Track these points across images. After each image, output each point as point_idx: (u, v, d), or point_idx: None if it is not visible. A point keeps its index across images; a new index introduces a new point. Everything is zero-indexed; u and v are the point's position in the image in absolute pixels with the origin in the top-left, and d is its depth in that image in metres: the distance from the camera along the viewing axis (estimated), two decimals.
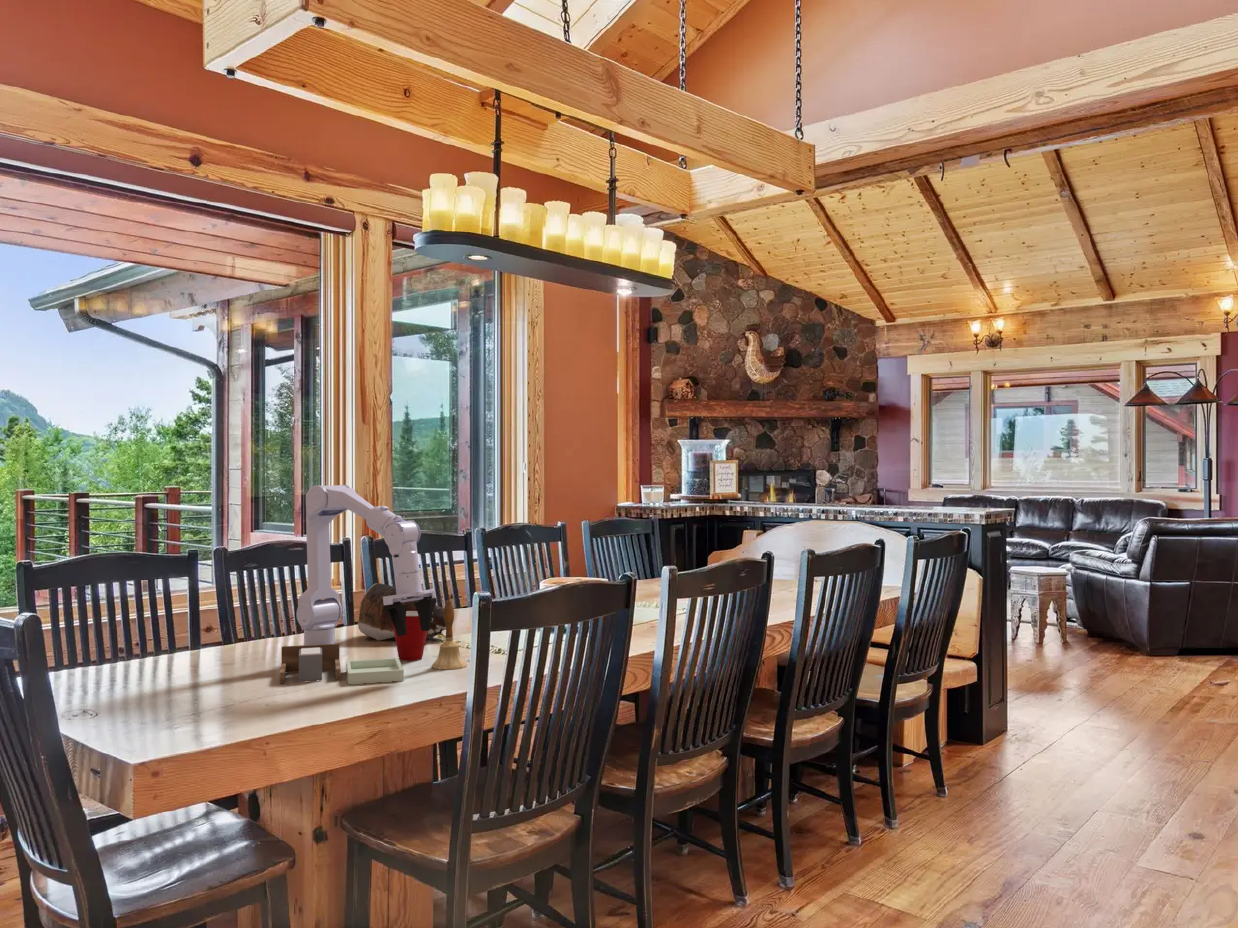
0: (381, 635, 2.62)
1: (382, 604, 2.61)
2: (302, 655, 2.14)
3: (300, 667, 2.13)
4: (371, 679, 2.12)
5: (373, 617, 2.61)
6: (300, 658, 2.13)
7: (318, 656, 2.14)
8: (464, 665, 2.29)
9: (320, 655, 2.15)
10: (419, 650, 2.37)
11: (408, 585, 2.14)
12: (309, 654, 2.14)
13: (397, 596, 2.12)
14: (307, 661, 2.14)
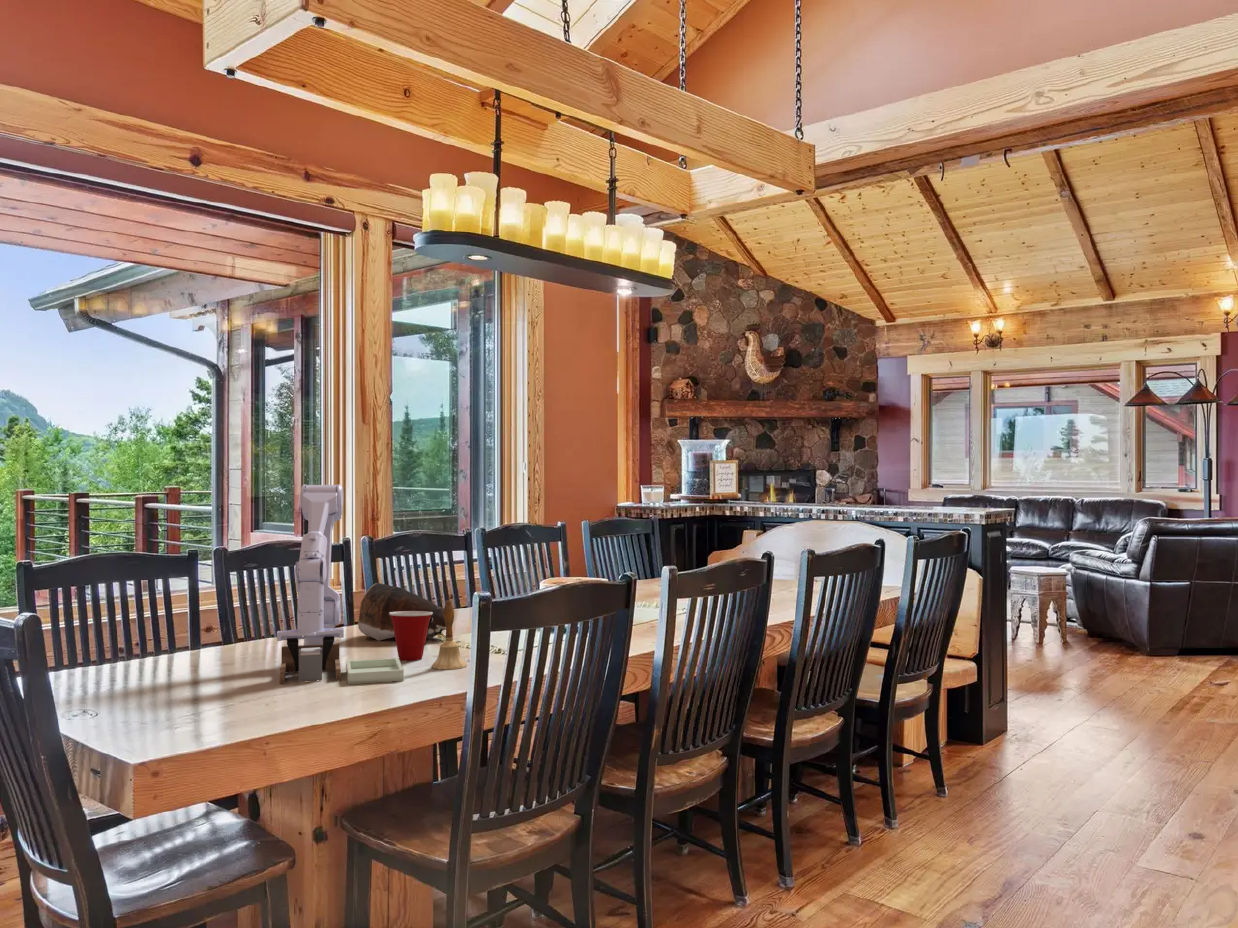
0: (381, 635, 2.62)
1: (382, 604, 2.61)
2: (302, 655, 2.14)
3: (300, 667, 2.13)
4: (371, 679, 2.12)
5: (373, 617, 2.61)
6: (300, 658, 2.13)
7: (318, 656, 2.14)
8: (464, 665, 2.29)
9: (320, 655, 2.15)
10: (419, 650, 2.37)
11: (301, 624, 2.15)
12: (309, 654, 2.14)
13: (286, 634, 2.15)
14: (307, 661, 2.14)
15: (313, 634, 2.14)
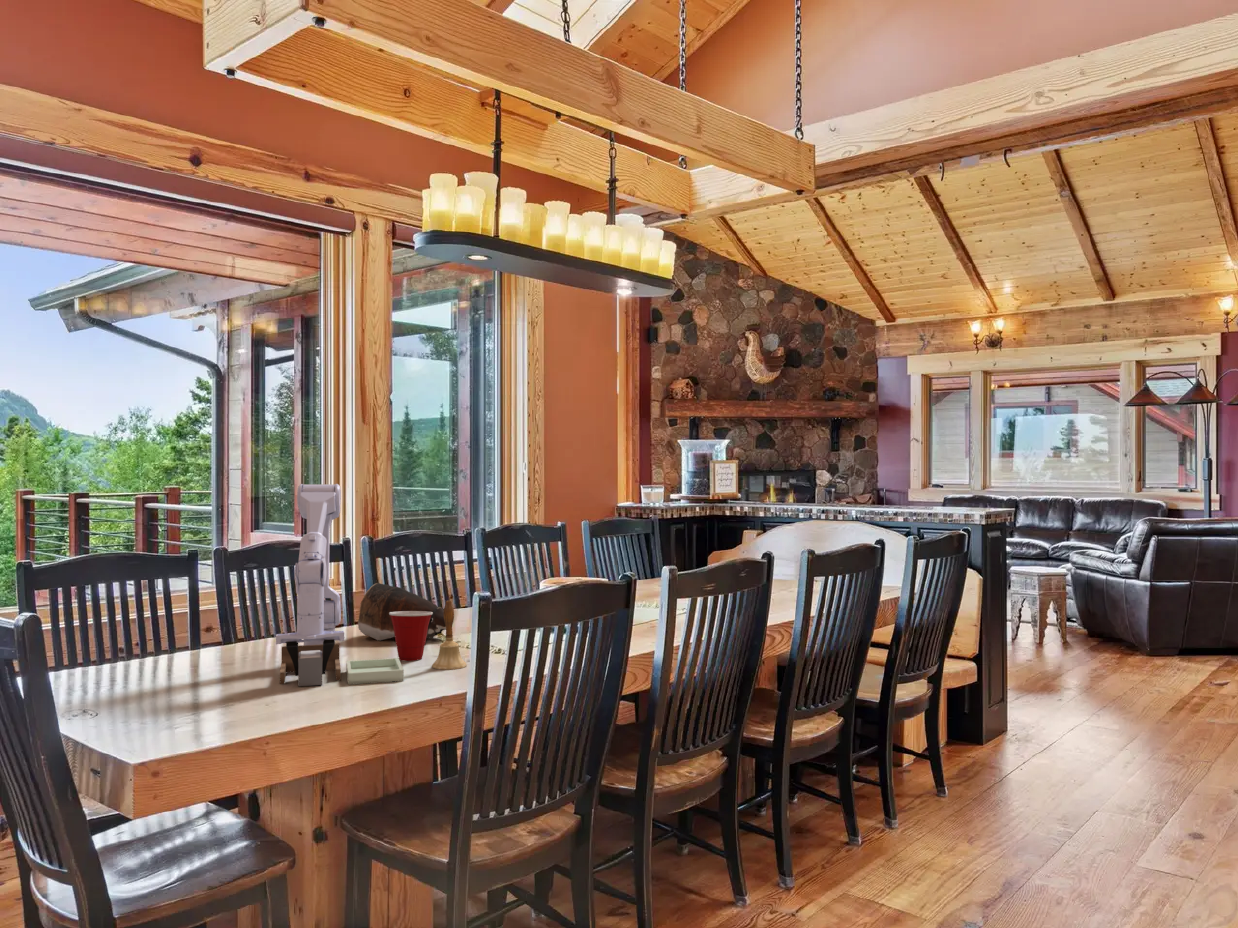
0: (381, 635, 2.62)
1: (382, 604, 2.61)
2: (302, 658, 2.09)
3: (300, 670, 2.08)
4: (371, 679, 2.12)
5: (373, 617, 2.61)
6: (300, 661, 2.08)
7: (318, 659, 2.09)
8: (464, 665, 2.29)
9: (320, 658, 2.10)
10: (419, 650, 2.37)
11: (301, 627, 2.10)
12: (309, 657, 2.09)
13: (286, 637, 2.10)
14: (307, 664, 2.09)
15: (313, 637, 2.09)
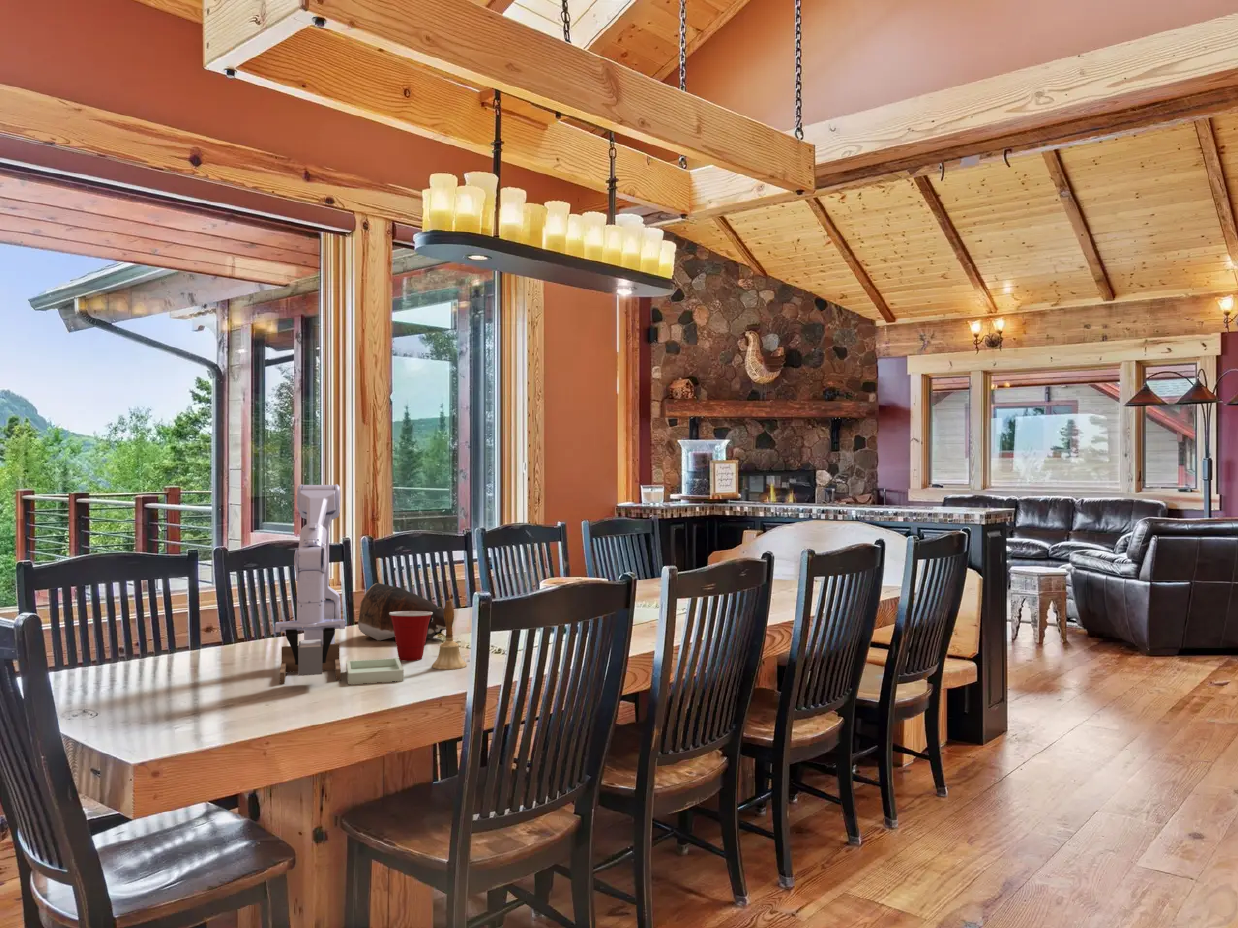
0: (381, 635, 2.62)
1: (382, 604, 2.61)
2: (302, 647, 2.05)
3: (300, 660, 2.05)
4: (371, 679, 2.12)
5: (373, 617, 2.61)
6: (299, 650, 2.05)
7: (318, 648, 2.06)
8: (464, 665, 2.29)
9: (320, 647, 2.06)
10: (419, 650, 2.37)
11: (300, 615, 2.07)
12: (309, 646, 2.06)
13: (285, 625, 2.06)
14: (307, 653, 2.05)
15: (313, 625, 2.06)
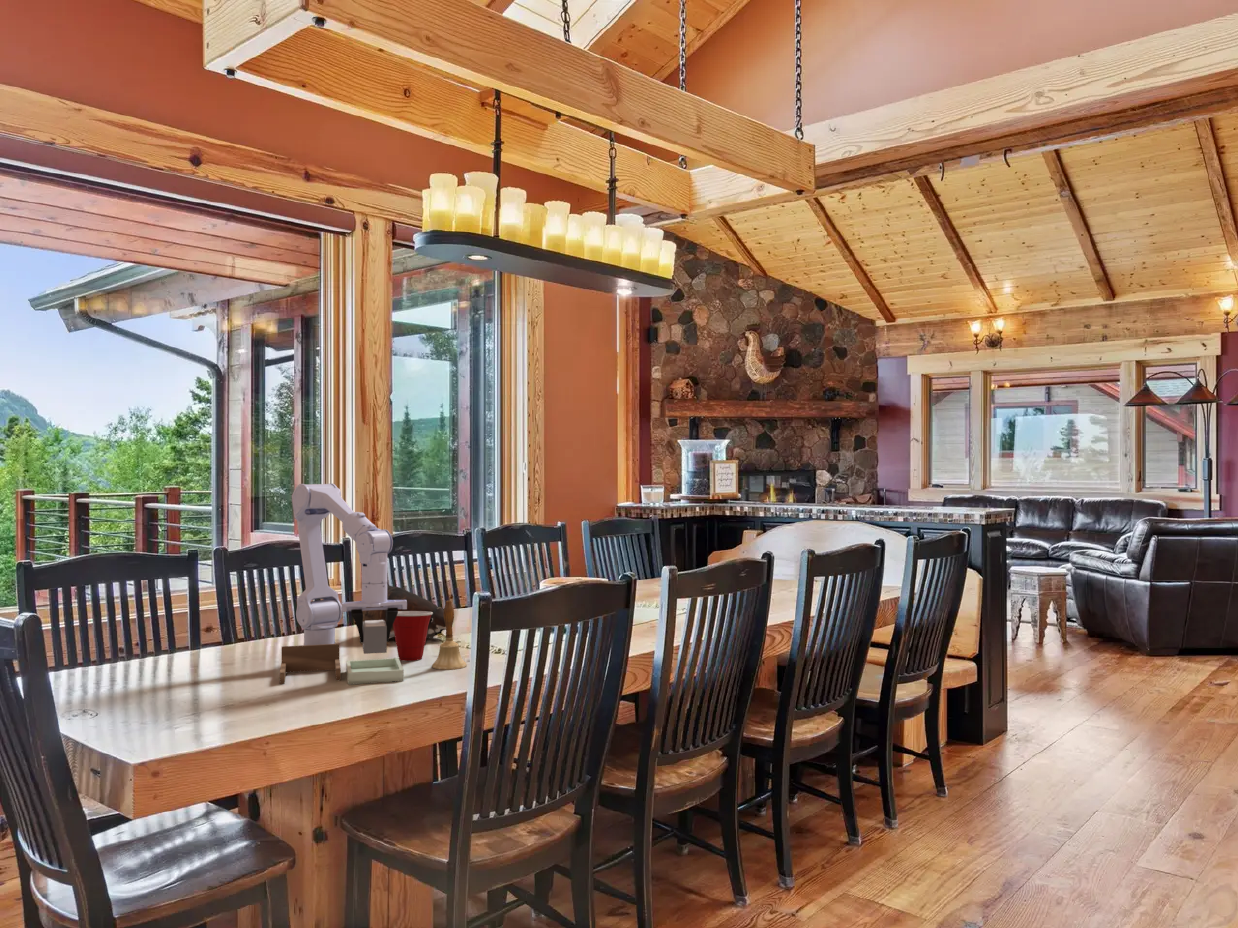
0: None
1: None
2: (367, 626, 2.15)
3: (366, 639, 2.15)
4: (371, 679, 2.12)
5: (373, 617, 2.61)
6: (365, 629, 2.14)
7: (383, 628, 2.16)
8: (464, 665, 2.29)
9: (385, 627, 2.16)
10: (419, 650, 2.37)
11: (366, 595, 2.17)
12: (374, 626, 2.15)
13: (351, 605, 2.16)
14: (372, 632, 2.15)
15: (378, 605, 2.16)
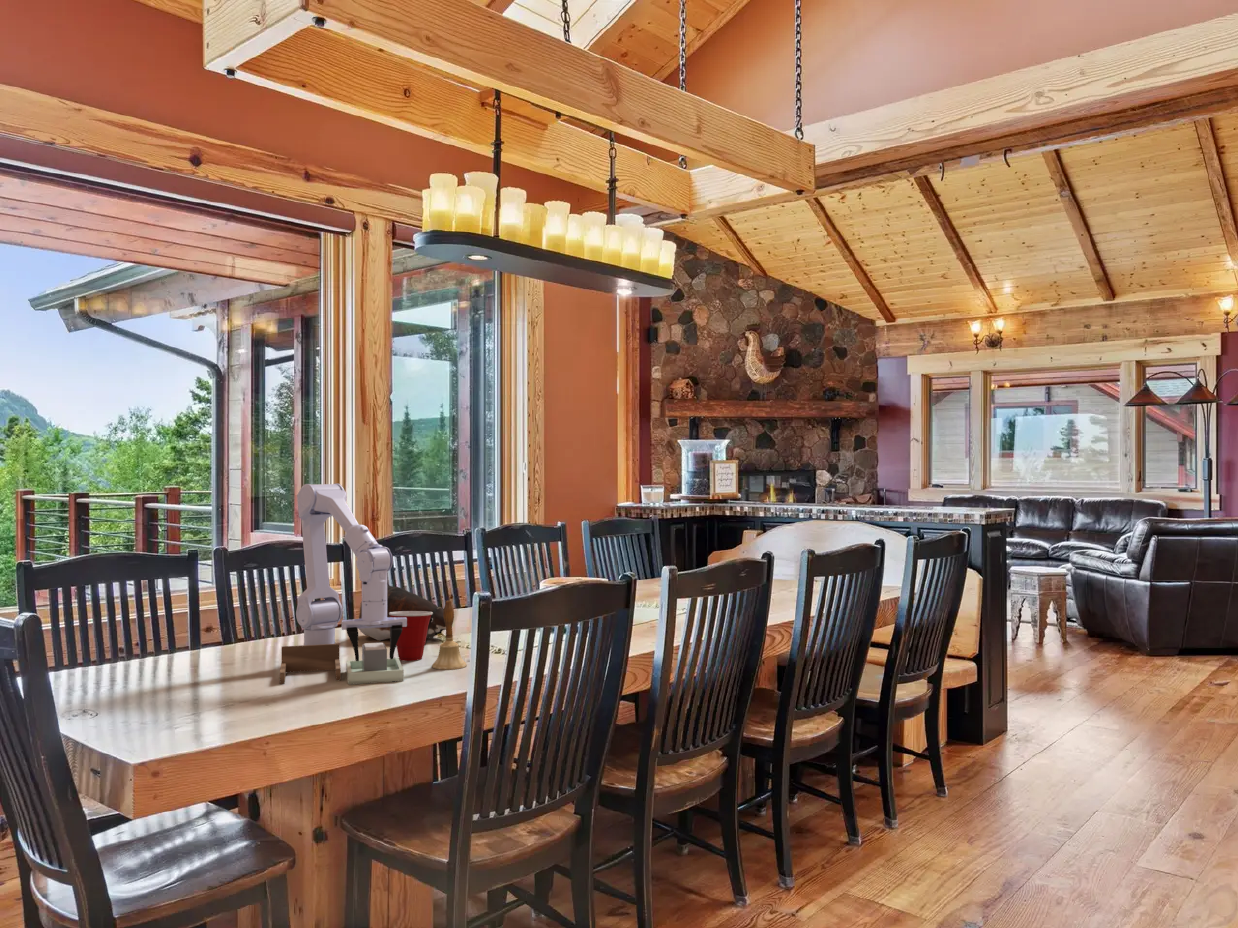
0: (381, 635, 2.62)
1: None
2: (367, 650, 2.15)
3: (366, 662, 2.15)
4: (371, 679, 2.12)
5: None
6: (365, 653, 2.14)
7: (383, 651, 2.16)
8: (464, 665, 2.29)
9: (385, 650, 2.16)
10: (419, 650, 2.37)
11: (365, 613, 2.17)
12: (374, 649, 2.15)
13: (351, 623, 2.16)
14: (372, 656, 2.15)
15: (378, 623, 2.16)
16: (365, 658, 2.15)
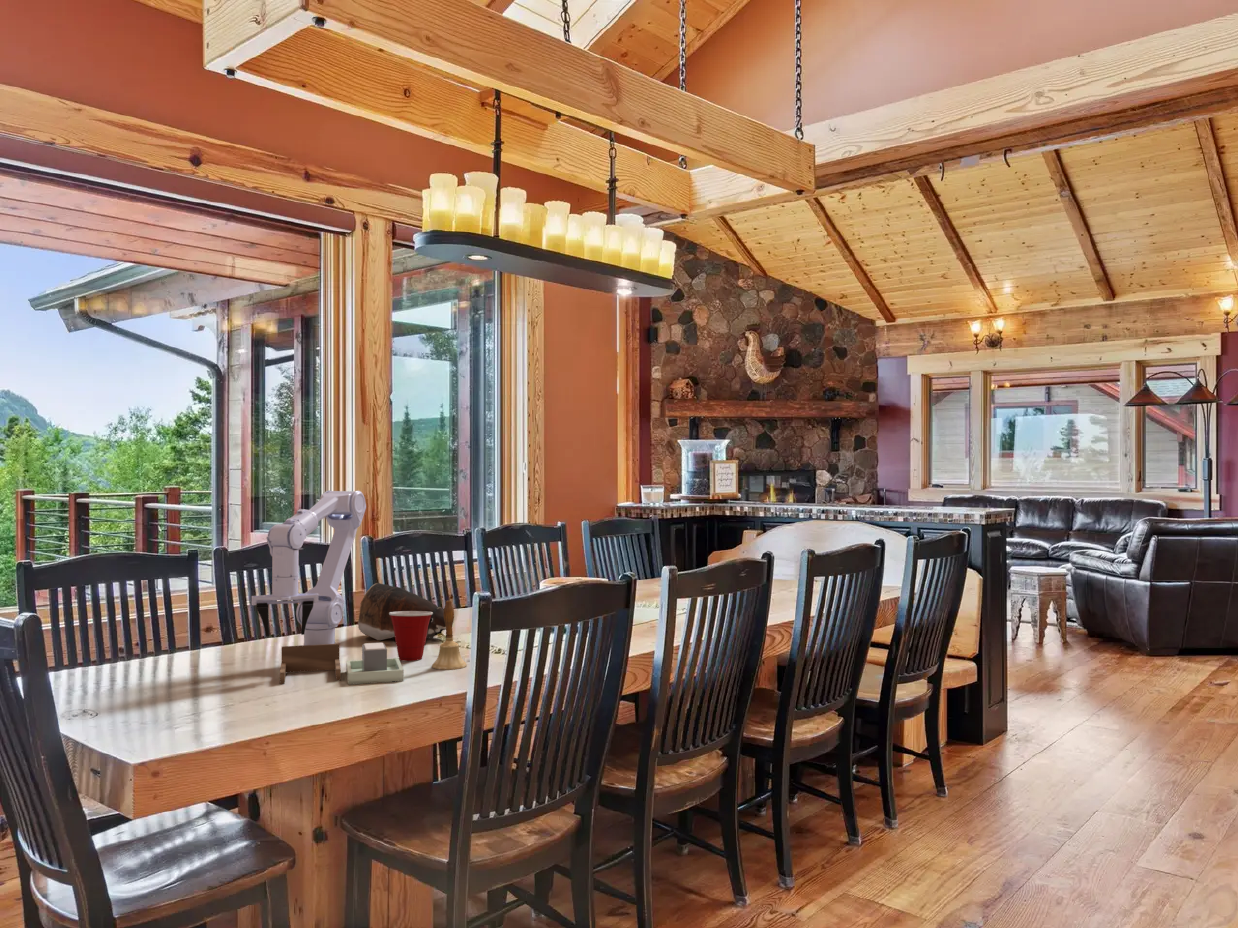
0: (381, 635, 2.62)
1: (382, 604, 2.61)
2: (367, 650, 2.15)
3: (366, 662, 2.15)
4: (371, 679, 2.12)
5: (373, 617, 2.61)
6: (365, 653, 2.14)
7: (383, 651, 2.16)
8: (464, 665, 2.29)
9: (385, 650, 2.16)
10: (419, 650, 2.37)
11: (276, 588, 2.17)
12: (374, 649, 2.15)
13: (261, 598, 2.16)
14: (372, 656, 2.15)
15: (288, 598, 2.16)
16: (365, 658, 2.15)
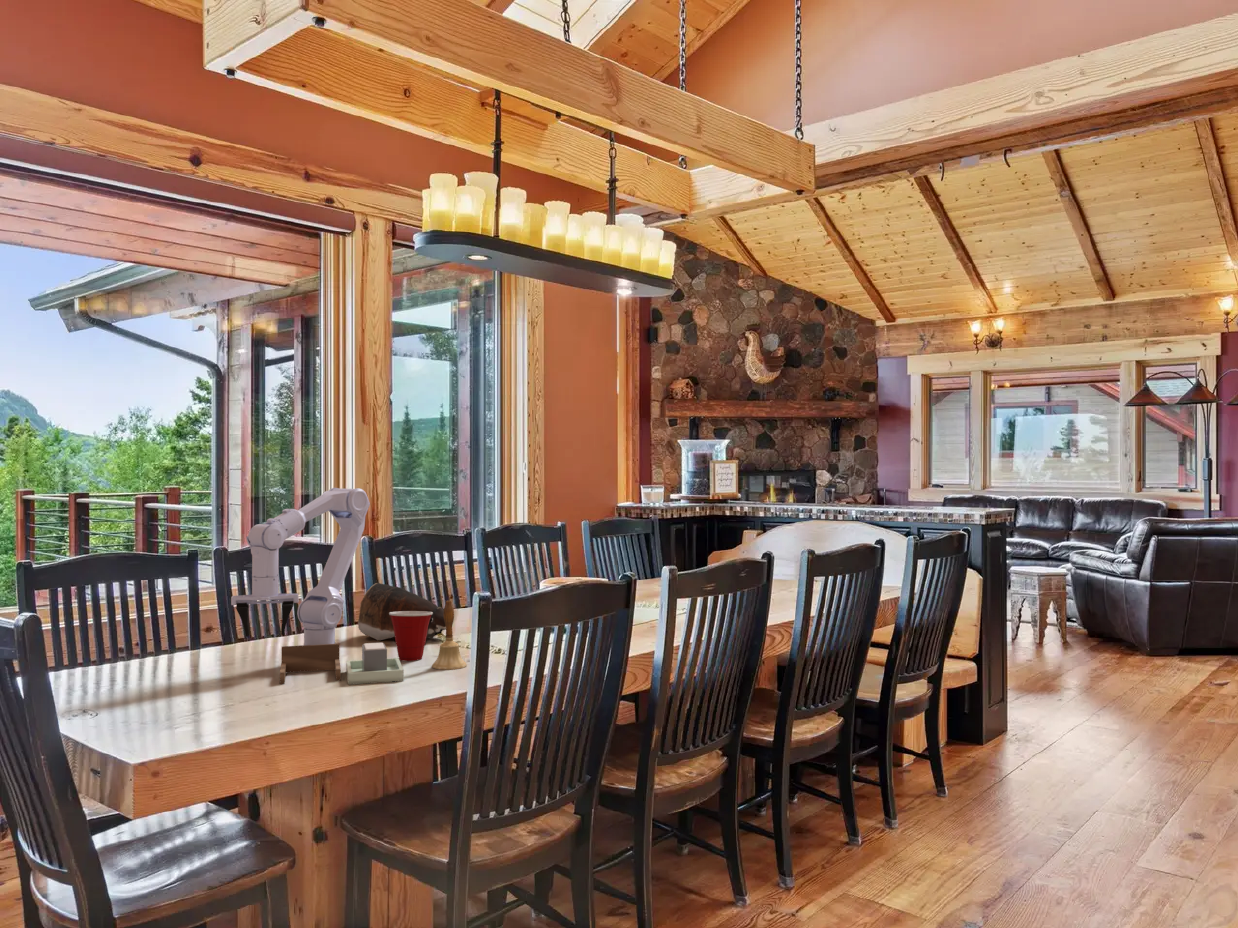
0: (381, 635, 2.62)
1: (382, 604, 2.61)
2: (367, 650, 2.15)
3: (366, 662, 2.15)
4: (371, 679, 2.12)
5: (373, 617, 2.61)
6: (365, 653, 2.14)
7: (383, 651, 2.16)
8: (464, 665, 2.29)
9: (385, 650, 2.16)
10: (419, 650, 2.37)
11: (255, 588, 2.17)
12: (374, 649, 2.15)
13: (241, 598, 2.17)
14: (372, 656, 2.15)
15: (267, 598, 2.16)
16: (365, 658, 2.15)
